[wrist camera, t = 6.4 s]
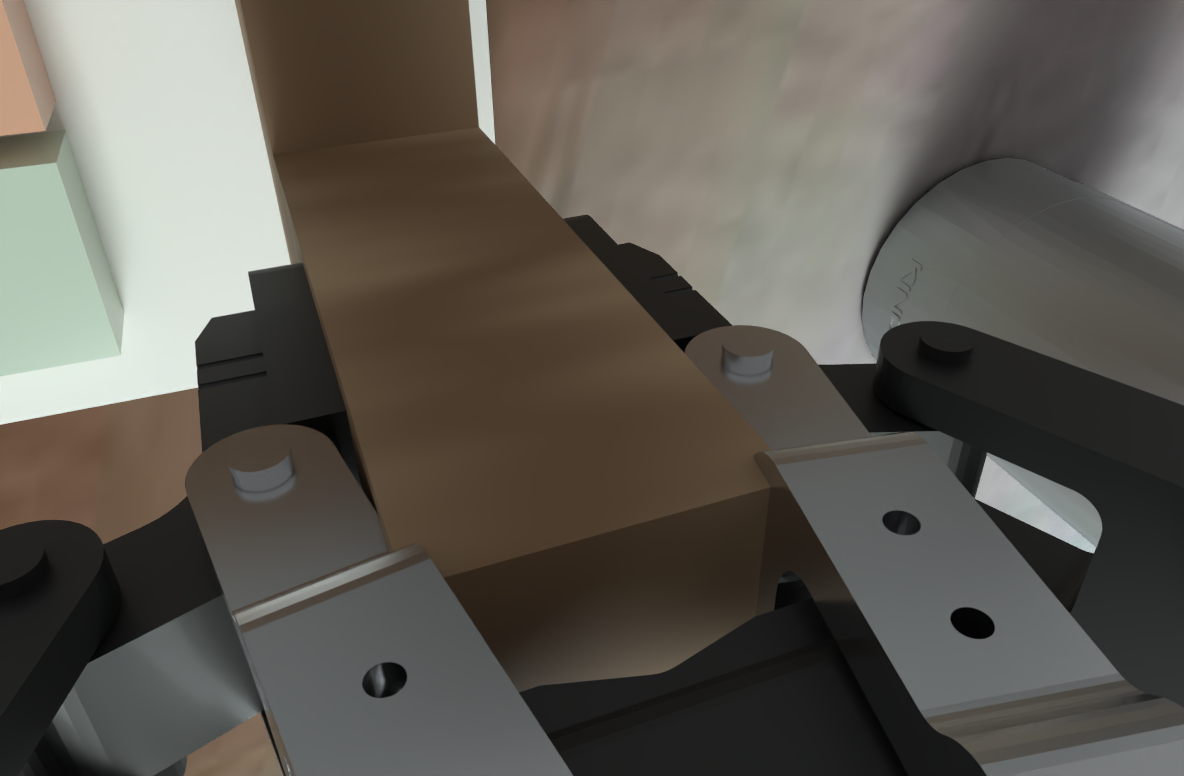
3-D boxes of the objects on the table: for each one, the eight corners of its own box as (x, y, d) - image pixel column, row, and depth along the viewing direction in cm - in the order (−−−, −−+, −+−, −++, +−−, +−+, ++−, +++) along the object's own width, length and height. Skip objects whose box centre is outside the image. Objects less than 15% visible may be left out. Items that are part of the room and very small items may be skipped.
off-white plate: (421, -290, 21) (465, -300, 18) (470, 267, 28) (507, 329, 25) (-404, -297, 17) (-540, -311, 13) (-89, 359, 24) (-128, 448, 21)
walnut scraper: (404, -192, 14) (880, -125, 5) (468, 405, 20) (734, 947, 11) (194, -186, 13) (284, -88, 4) (327, 437, 19) (486, 1054, 10)
